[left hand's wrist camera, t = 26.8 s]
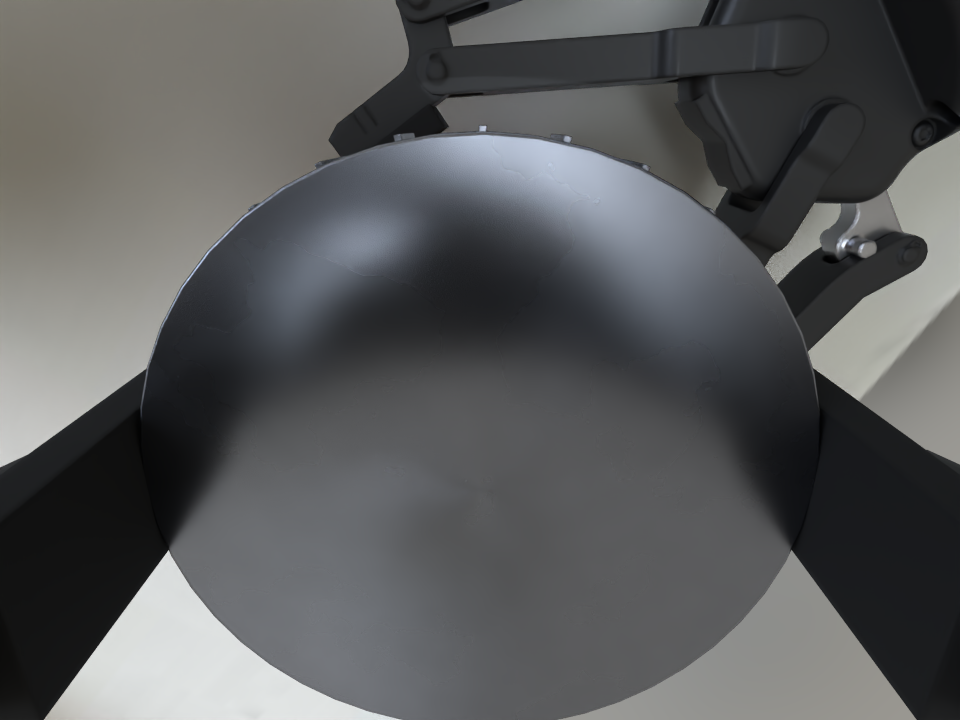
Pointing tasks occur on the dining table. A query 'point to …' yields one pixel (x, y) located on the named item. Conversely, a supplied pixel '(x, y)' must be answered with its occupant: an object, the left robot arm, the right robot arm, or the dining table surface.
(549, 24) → the dining table surface
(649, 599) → the lid
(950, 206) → the dining table surface
